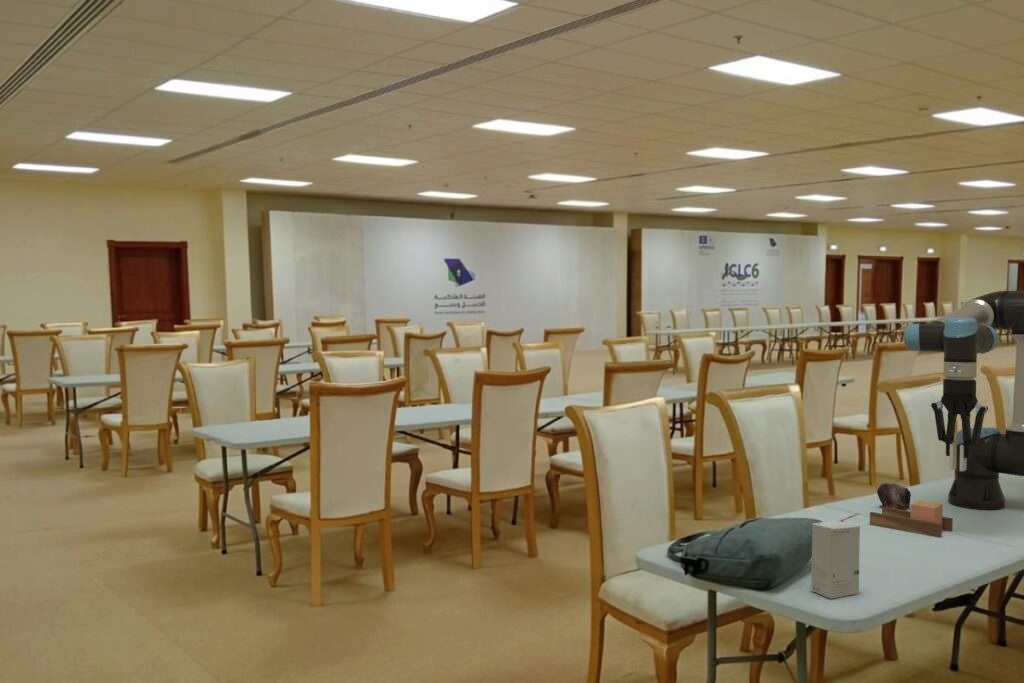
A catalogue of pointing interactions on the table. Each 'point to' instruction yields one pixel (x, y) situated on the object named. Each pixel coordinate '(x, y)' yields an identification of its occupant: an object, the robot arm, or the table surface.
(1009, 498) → the table surface
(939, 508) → the block
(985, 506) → the robot arm
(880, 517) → the chute
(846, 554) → the skincare box
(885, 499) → the rock
